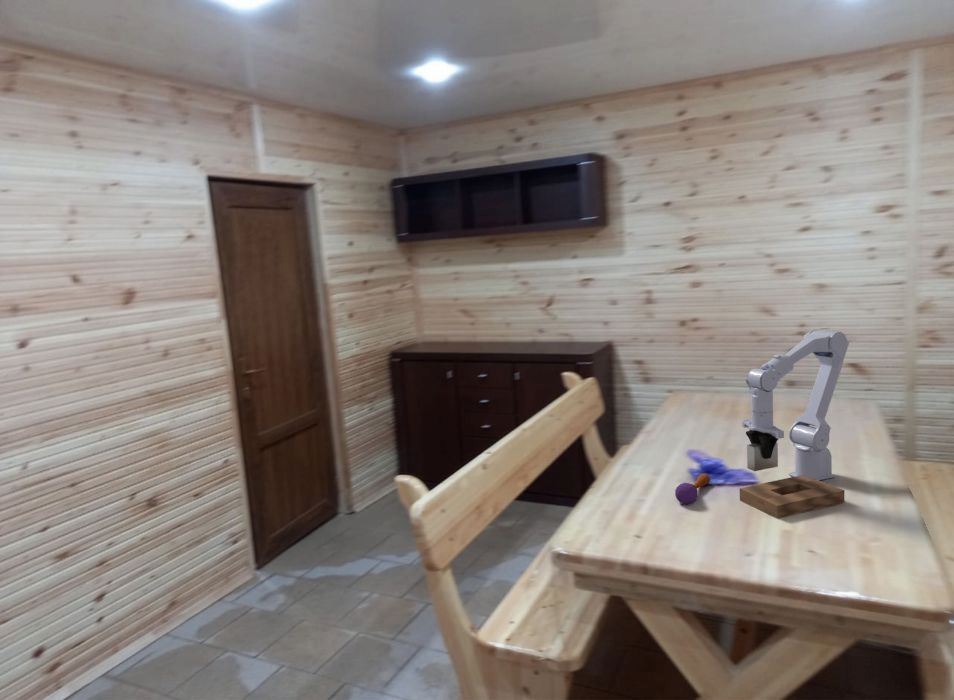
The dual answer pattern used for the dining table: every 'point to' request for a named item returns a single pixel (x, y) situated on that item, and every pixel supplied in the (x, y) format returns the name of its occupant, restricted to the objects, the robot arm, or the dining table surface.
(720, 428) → the dining table surface
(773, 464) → the tall grey cuboid
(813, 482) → the well
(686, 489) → the purple and brown maraca
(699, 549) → the dining table surface
